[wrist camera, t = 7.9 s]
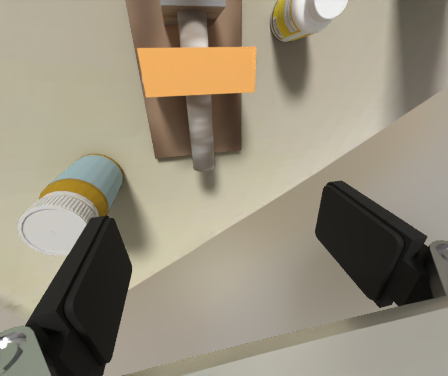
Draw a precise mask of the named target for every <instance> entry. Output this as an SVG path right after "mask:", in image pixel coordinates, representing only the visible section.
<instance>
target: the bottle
mask: <svg viewBox="0 0 448 376" xmlns="http://www.w3.org/2000/svg"><path fill="white" fill-rule="evenodd" d="M122 182H123V173H122V170H121V168H120V166H119V165H118V164H117V163H116V162H115V161H114V160H113V159H111V158H109V157H107V156H105V155H101V154H88V155H85V156H83V157H81V158H80V159H78V160H77V161H76V162H75V163H74V164H72V165H71V166H70V167H69V168H68V169H67V170H65V171H64V172H63V173H62V174H61V175H60V176H58V177H57V178H56V179H55V180H54V181H53V182H51V183H50V184H49V185H48V186H47V187H46V188H45V189H44V190H43V191H42V192H41V194H40V197H39V200H38V201H37V202H36V203H34V204H33V205H32V206H31V207H30V208H29V209H28V210H27V211H26V212H25V213H23V215H22V216H21V218H20V220H19V222H18V233H19V236H20V237H21V239H22V240H23V241H24V242H25V243H26V244H27V245H28V246H29V247H31V248H32V249H34V250H36V251H38V252H41V253H44V254H48V255H56V256H62V255H68V254H69V253H70V251H71V249H72V248H73V246H74V244H75V243H76V241H77V239H78V238H79V236H80V235H81V233H82V231H83V230H84V228H85V226H86V225H87V223H88V221H89V220H90V219H91V218H92V217H99V216H106V215H107V213H108V211H109V209H110V207H111V205H112V203H113V201H114V199H115V197H116V195H117V193H118V191H119V189H120V187H121V184H122Z"/></svg>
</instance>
